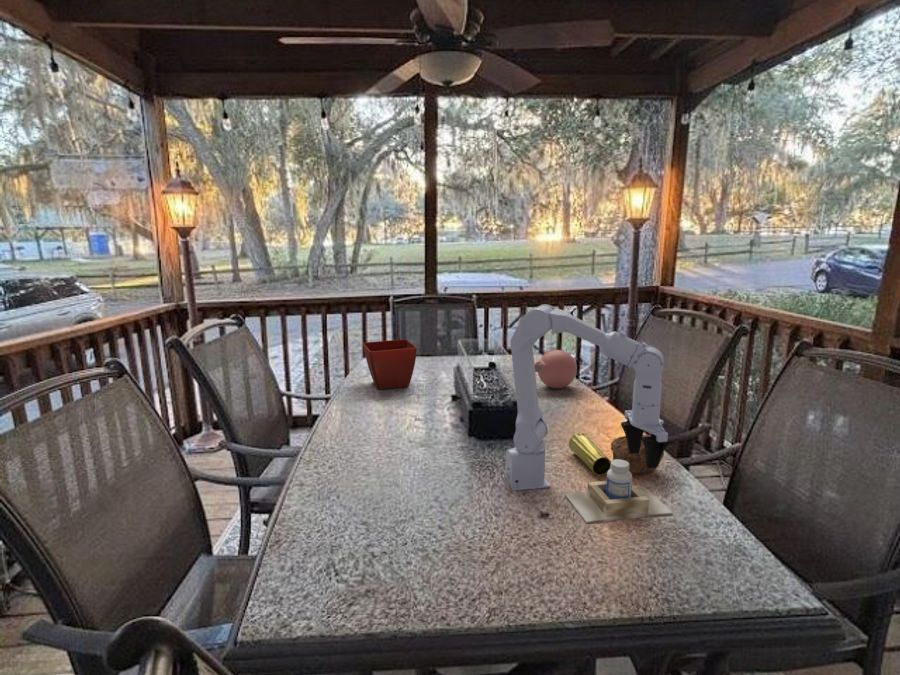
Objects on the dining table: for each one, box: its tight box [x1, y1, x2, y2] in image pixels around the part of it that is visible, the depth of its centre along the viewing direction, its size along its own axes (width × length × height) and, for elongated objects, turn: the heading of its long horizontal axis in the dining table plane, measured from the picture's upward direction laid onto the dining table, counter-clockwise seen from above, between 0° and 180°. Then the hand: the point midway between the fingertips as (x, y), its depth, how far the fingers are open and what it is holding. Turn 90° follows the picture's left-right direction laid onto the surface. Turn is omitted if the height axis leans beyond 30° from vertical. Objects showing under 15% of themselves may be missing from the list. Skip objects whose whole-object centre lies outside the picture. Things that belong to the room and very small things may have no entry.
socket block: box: [564, 480, 673, 524], centre depth 115 cm, size 20×12×3 cm, turn 99°
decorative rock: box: [610, 434, 665, 476], centre depth 131 cm, size 13×11×10 cm
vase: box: [568, 432, 612, 477], centre depth 136 cm, size 6×6×14 cm
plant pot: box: [362, 338, 418, 390], centre depth 209 cm, size 19×19×17 cm
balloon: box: [534, 349, 578, 390], centre depth 202 cm, size 15×20×15 cm
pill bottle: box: [606, 459, 633, 500], centre depth 115 cm, size 6×5×10 cm
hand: (642, 459), depth 115 cm, fingers open, 7 cm apart
